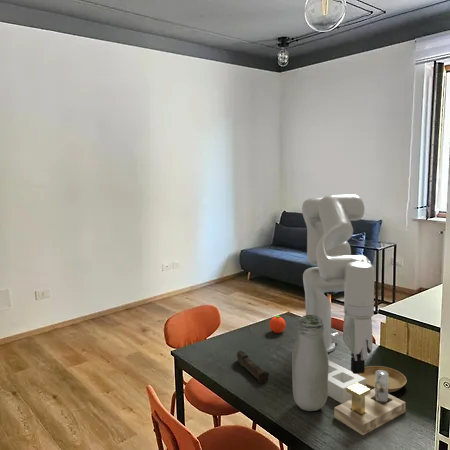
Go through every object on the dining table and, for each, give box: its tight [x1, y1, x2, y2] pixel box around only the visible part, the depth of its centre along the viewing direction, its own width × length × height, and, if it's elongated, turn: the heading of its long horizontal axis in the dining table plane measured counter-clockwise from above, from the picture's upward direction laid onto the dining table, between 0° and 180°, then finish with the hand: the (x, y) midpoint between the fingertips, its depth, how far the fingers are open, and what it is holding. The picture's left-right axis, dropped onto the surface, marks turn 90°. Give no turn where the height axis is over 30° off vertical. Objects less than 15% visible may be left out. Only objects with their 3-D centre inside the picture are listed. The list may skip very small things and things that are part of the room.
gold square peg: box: [347, 383, 371, 416], centre depth 117 cm, size 4×4×9 cm
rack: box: [327, 359, 367, 404], centre depth 135 cm, size 10×16×5 cm, turn 33°
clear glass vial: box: [375, 370, 389, 405], centre depth 123 cm, size 4×4×11 cm
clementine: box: [268, 315, 287, 334], centre depth 182 cm, size 8×7×7 cm
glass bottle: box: [291, 314, 329, 412], centre depth 123 cm, size 10×10×28 cm
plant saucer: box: [358, 365, 407, 394], centre depth 137 cm, size 15×15×3 cm
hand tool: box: [236, 350, 270, 385], centre depth 149 cm, size 19×4×5 cm, turn 23°
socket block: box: [333, 388, 407, 436], centre depth 120 cm, size 18×10×3 cm, turn 123°
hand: (357, 371), depth 117 cm, fingers closed
